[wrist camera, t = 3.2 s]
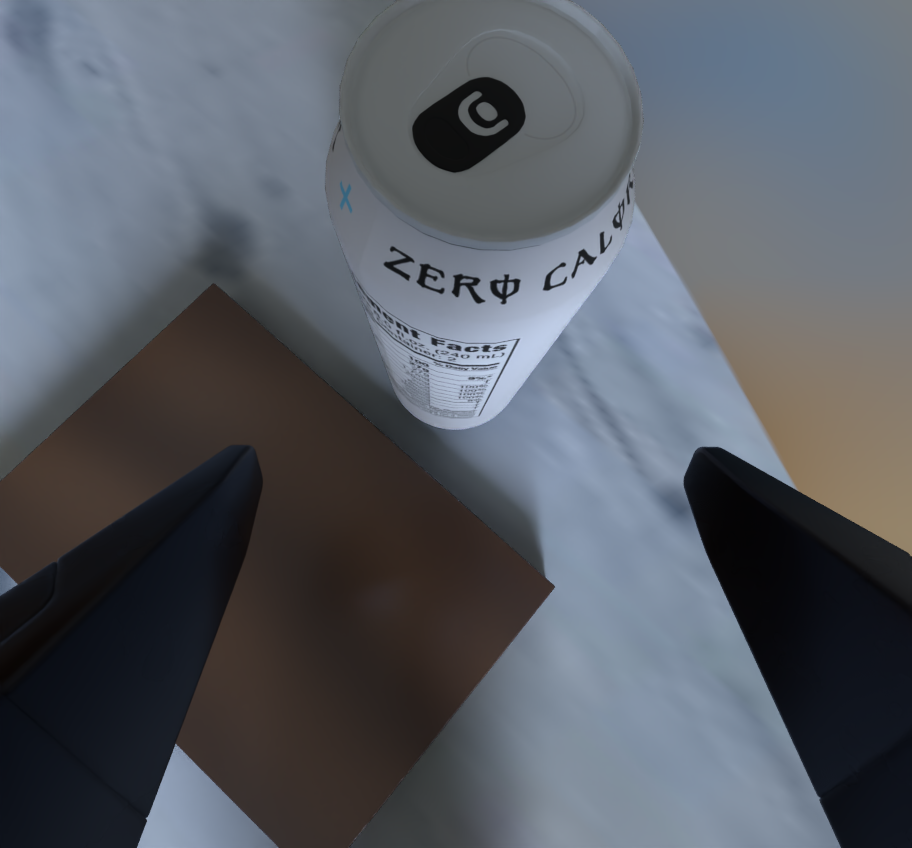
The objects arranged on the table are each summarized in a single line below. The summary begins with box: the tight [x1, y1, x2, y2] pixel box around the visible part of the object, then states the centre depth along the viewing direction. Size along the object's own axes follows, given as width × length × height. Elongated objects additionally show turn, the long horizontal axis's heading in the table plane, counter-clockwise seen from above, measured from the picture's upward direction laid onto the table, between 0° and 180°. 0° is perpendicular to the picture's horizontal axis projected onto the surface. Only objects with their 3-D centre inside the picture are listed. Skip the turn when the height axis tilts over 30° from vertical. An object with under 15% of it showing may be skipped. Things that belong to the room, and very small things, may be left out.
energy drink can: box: [325, 0, 644, 430], centre depth 15 cm, size 6×6×15 cm
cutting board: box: [0, 283, 555, 848], centre depth 20 cm, size 14×20×2 cm
